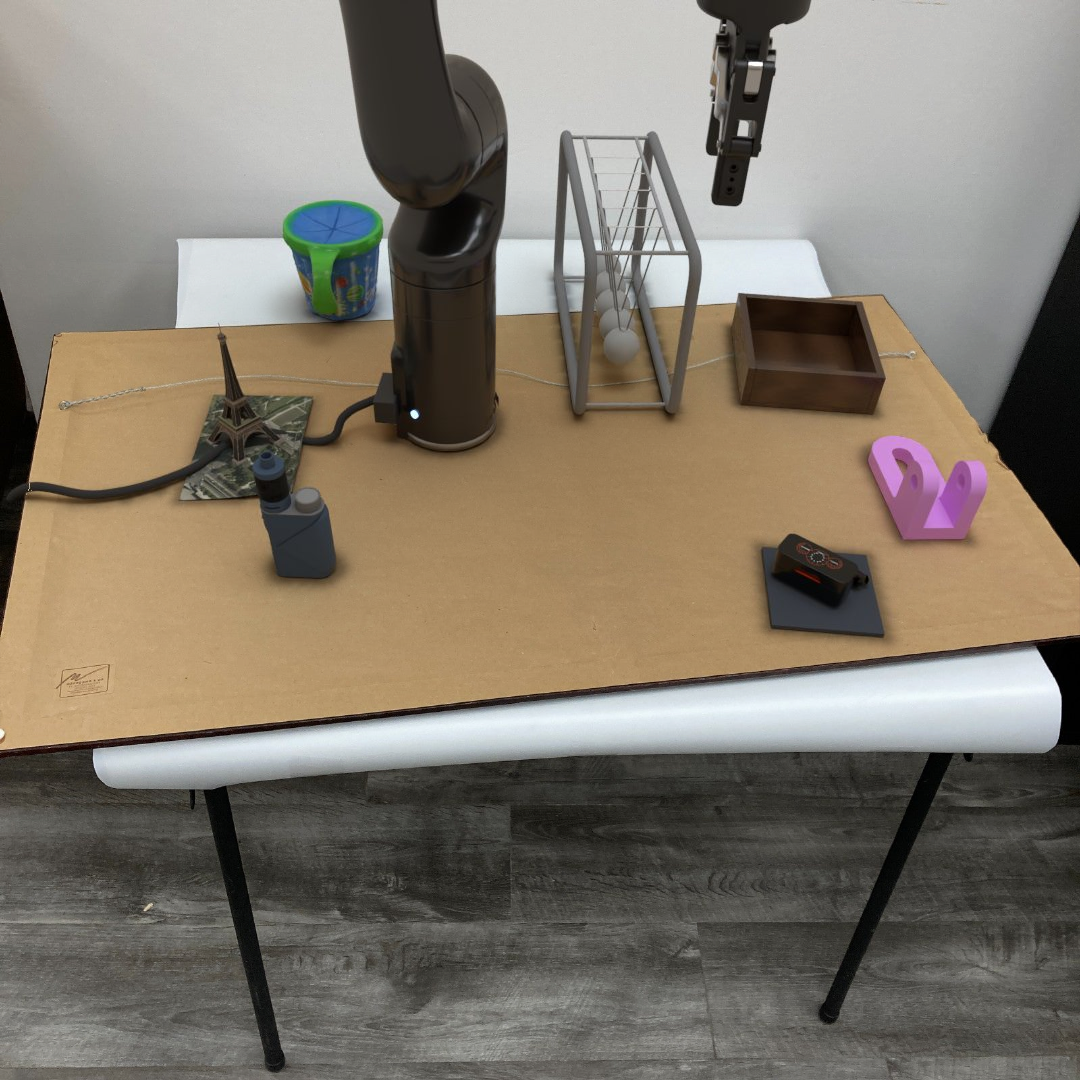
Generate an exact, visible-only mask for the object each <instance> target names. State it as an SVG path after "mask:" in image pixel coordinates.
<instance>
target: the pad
mask: <svg viewBox="0 0 1080 1080" xmlns="http://www.w3.org/2000/svg"><path fill="white" fill-rule="evenodd" d="M777 549H778V547H770V546H762V547H761V557H762V564H763V573H764V580H765V588H766V589H765V591H766V597H767V606H768V613H769V620H770V621H769V622H770V628H771V629H780V630H791V631H804V632H805V631H806V632H816V633H828V634H829V633H830V634H842V635H853V636H855V635H856V636H866V637H878V638H879V637H880V638H884V637H885V635H886V634H885V629H884V626H883V622H882V621H883V620H882V616H881V612H880V608H879V603H878V600H877V594H876V591H875V587H874V583H873V578H872V573H871V569H870V564H869V561H868V556H867V554H862V553H861V554H859V553H849V552H848V553H847V552H834V551H833V552H834V553H836V554H838V555H840V556H842V557H844V558H846V559H848V560H850V561H852V562H854V563H856V564H857V565H858V567H859V569H858V570H860V571H861V572H862V573H864V574H865V575H868V576H869V578H870V580H871V581H870V582H869V583H868V584H866V585H864V584H862V585H861V586H860V587H858V588H855V587H854V586H853V585H852V588H851V590H850V593H849V594H848V595H847V597H846V598H845V599H844V601H843V602H842V603H841V605H839V606H838V607H832V606H830V605H828V604H826V603H824V602H822V601H820V600H818V599H816V598H815V597H813V596H811V595H809V594H807V593H805V592H803V591H801V590H799V589H797V588H795V587H793V586H791V585H789V584H787V583H786V582H784V581H782V580H780V579H778V578H776V577H774V576H773V575H772V566H773V562H774V559H775V555H776V552H777Z"/></svg>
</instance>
